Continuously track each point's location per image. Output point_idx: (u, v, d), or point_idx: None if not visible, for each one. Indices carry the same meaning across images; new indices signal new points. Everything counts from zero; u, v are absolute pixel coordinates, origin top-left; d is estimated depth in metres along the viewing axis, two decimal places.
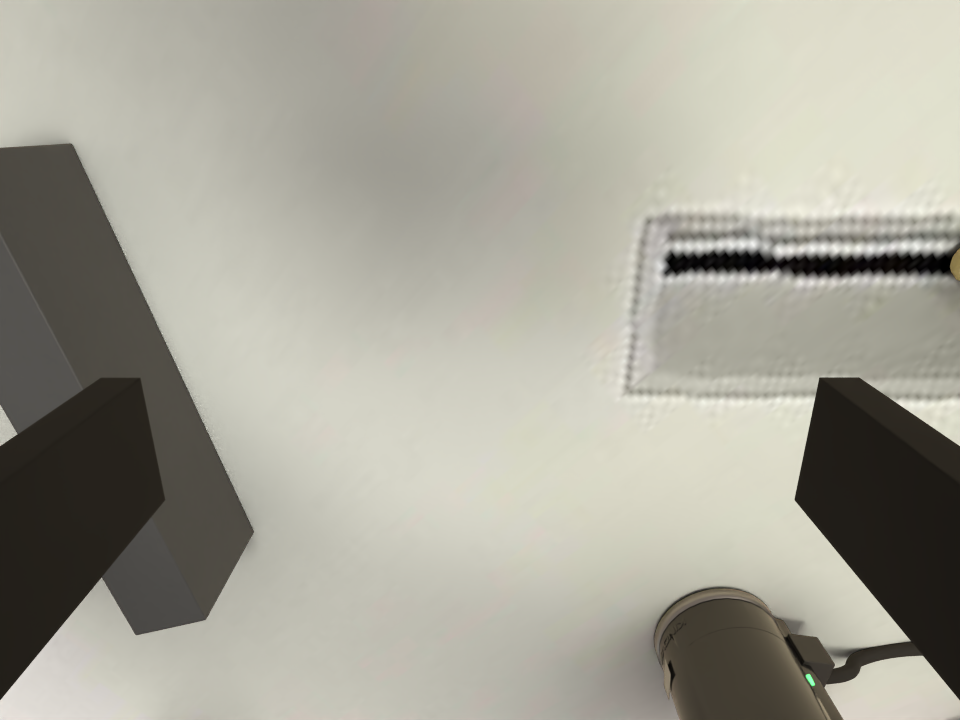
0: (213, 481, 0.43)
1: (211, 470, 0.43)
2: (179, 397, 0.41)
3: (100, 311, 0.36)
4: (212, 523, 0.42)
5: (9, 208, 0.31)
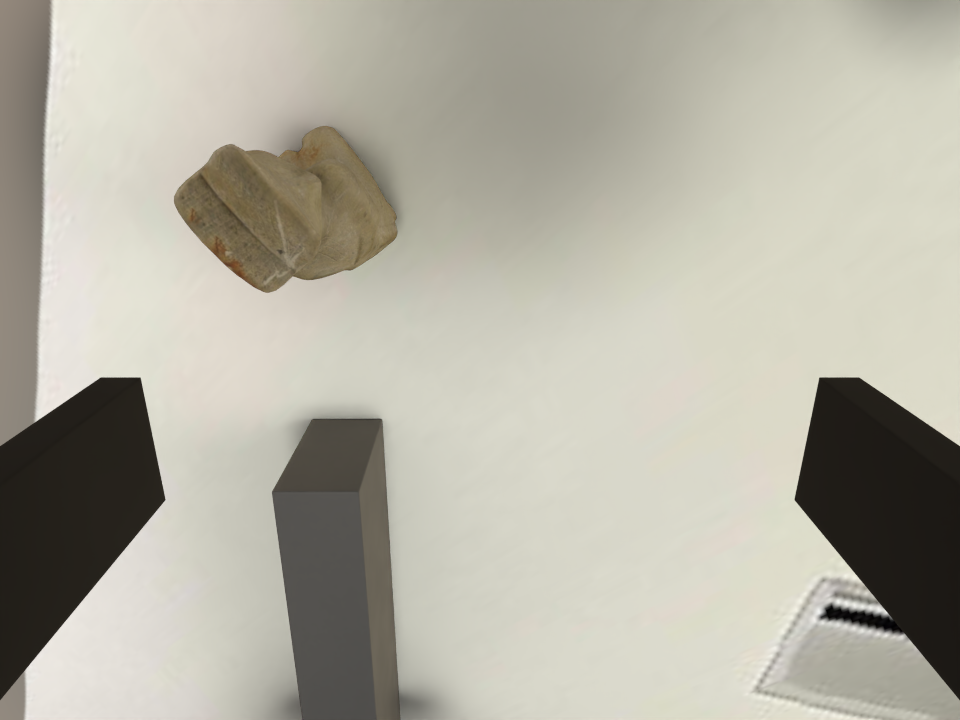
0: (394, 695, 0.48)
1: (394, 685, 0.48)
2: (391, 625, 0.47)
3: (379, 579, 0.41)
4: None
5: (366, 522, 0.36)
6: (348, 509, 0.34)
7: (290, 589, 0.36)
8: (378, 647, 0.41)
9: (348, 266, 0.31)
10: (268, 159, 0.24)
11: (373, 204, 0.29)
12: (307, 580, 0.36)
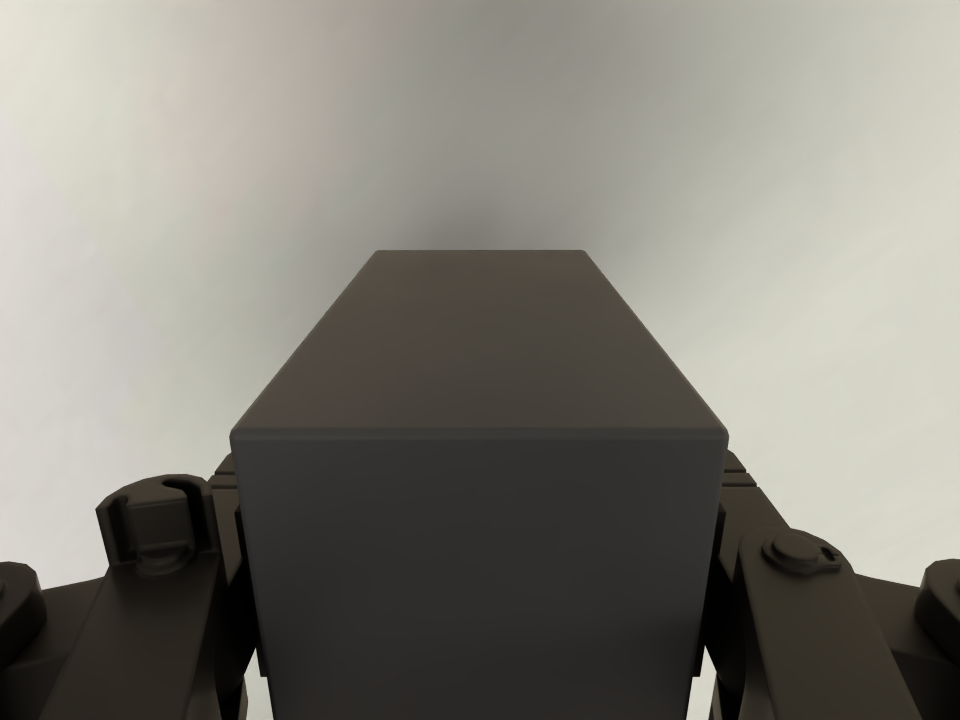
0: None
1: None
2: None
3: None
4: None
5: None
6: (655, 535, 0.06)
7: None
8: None
9: None
10: None
11: None
12: None
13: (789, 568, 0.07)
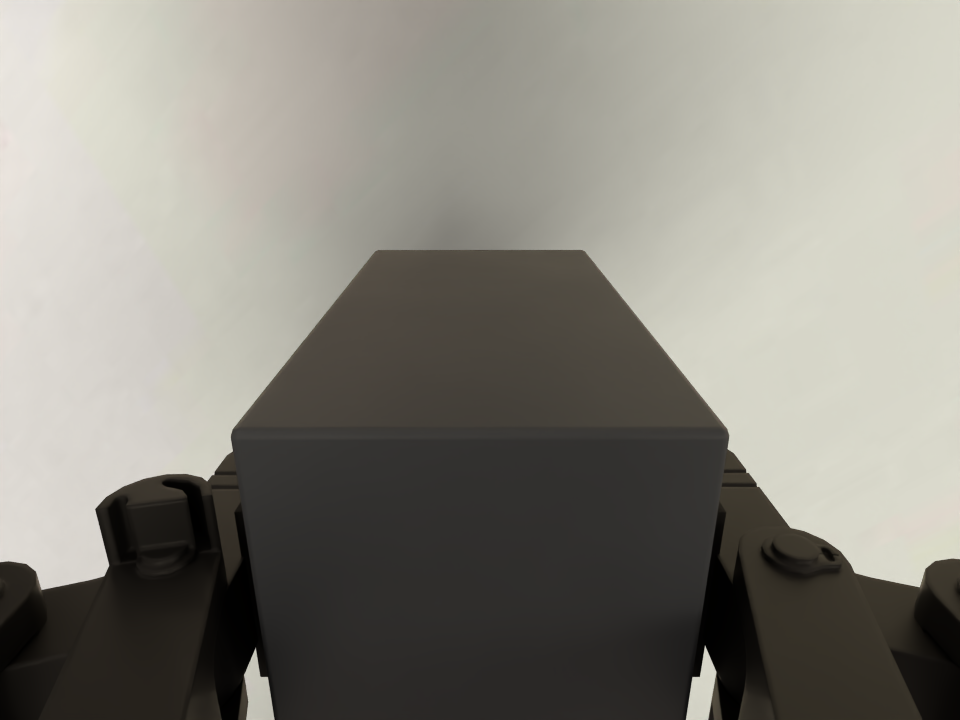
0: None
1: None
2: None
3: None
4: None
5: None
6: (655, 533, 0.06)
7: None
8: None
9: None
10: None
11: None
12: None
13: (789, 568, 0.07)
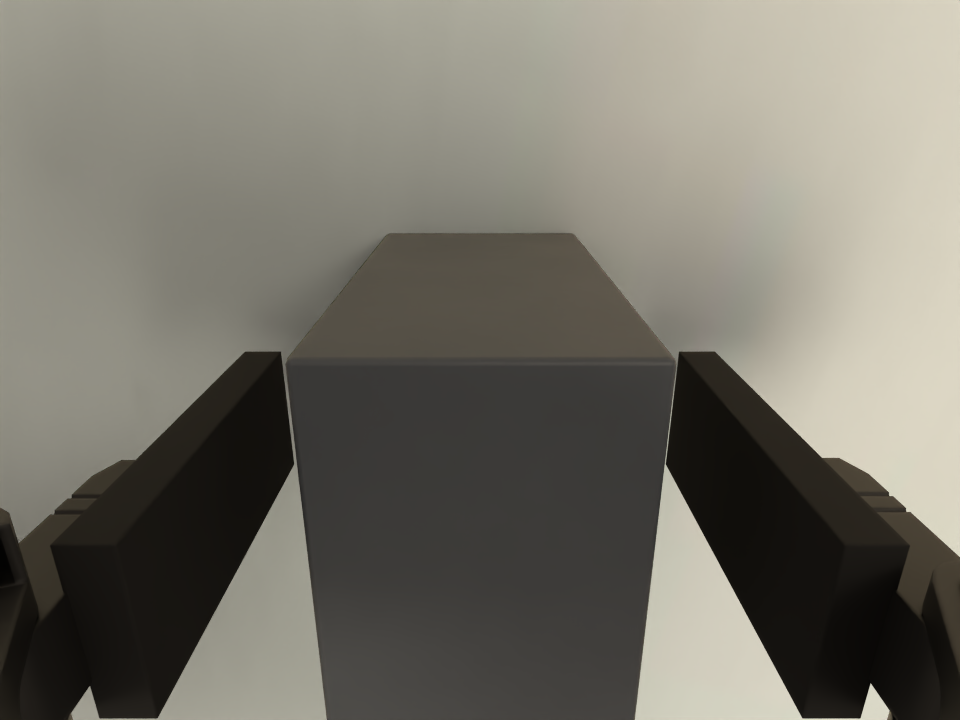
0: None
1: None
2: None
3: None
4: None
5: None
6: (619, 444, 0.08)
7: None
8: None
9: None
10: None
11: None
12: None
13: None
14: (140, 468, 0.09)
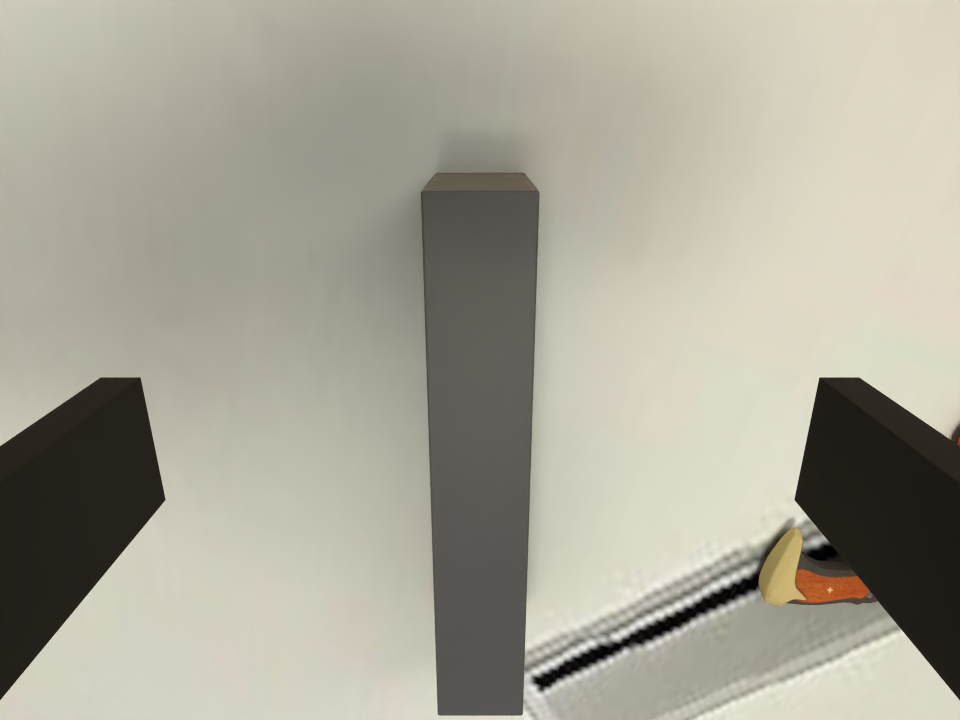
0: None
1: None
2: None
3: None
4: None
5: None
6: (523, 219, 0.25)
7: (433, 345, 0.27)
8: None
9: None
10: None
11: None
12: (458, 331, 0.27)
13: None
14: None
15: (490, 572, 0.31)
